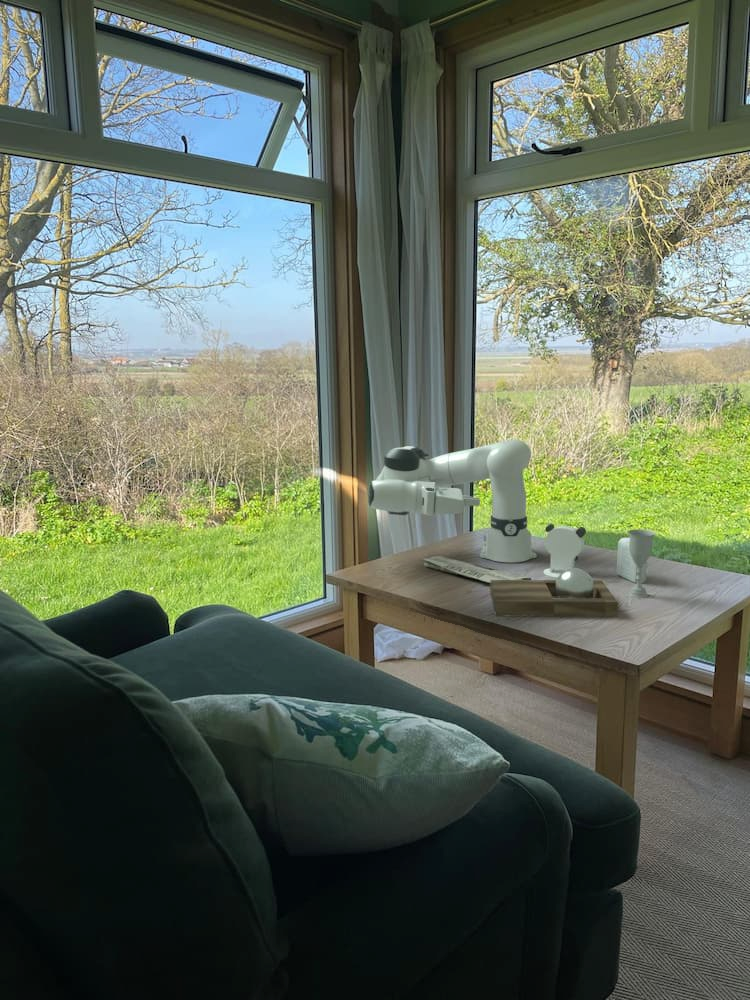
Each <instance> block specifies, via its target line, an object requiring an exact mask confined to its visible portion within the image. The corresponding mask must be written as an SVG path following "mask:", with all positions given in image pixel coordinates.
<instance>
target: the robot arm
mask: <svg viewBox="0 0 750 1000" xmlns="http://www.w3.org/2000/svg"><path fill="white" fill-rule="evenodd" d="M383 456H384V457H383V464H384V466H383V468H382V470H381V472H380V474H378V476H377V477H376V479H375V480H371V481H370V483H369V487H368V496H367V497H368V500H367V501H368V505H369V507H370V508H372V509H374V510H379V511H383V512H387V513H388V514H389V515H394V516H395V515H396V516H407V515H408V514H409V513H412V514H417V515H425V516H434V515H435V514H437V515H458V514H462V513H463V512H464V507H473V506H474V507H479V506H480V505H481V500H480V497H475V496H470V495H465V494H464V495H463V491H462V489H460V488H457V487H450V486H456V485H457V486H459V485H464V484H470V483H475V482H480V481H484V480H487V479H489V480H490V487H491V498H492V499H491V502H492V503H491V509H492V510H491V515H490V519H489V521H490V528H489V530H488V531H487V533H486V534H484V535H483V541H484V542H486V543H484V545H483V547H482V550H481V552H480V553H479V554H480V555H479V558H482V559H488V560H491V561H493V562H494V561H495V562H500V563H521V562H526V561H528V560H531V559H535V558H537V557H538V555H537V553H536V552H535V551H533V550H532V549H533V548H532V547H533V545H532V542H533V540H532V533H531V531H529V530H528V528H527V527H528V516H527V492H526V489H525V487H526V486H525V481H524V470H525V469H526V468H527V467H528V466H529V465H530V462H531V459H532V450H531V448H530V447H529V445H528V444H527V442H524V441H522V440H519V439H508V440H504V441H500V442H495V443H491V444H486V445H482V446H479V447H475V448H470V449H465V450H463V449H462V450H459V451H454V452H449V453H445V454H441V455H438V456H435V457H433V458H430V459H426V458H425V457H428V456H430V455H429V453H425V452H424V450H422V449H421V448H419V447H418V446H413V445H412V446H410V445H406V446H403V447H395V448H391V449H390V450H388V451H387V452H386V453H385V454H384V455H383Z"/></svg>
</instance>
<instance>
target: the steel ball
mask: <svg viewBox="0 0 750 1000" xmlns="http://www.w3.org/2000/svg"><path fill="white" fill-rule="evenodd" d="M555 580H556V592H557V594H558V596H557V597H558V598H592V594H593V591H594V584H593V580H594V579H593V578H592V576H591V575H590V574H589V573H588V572H587V571H586V570H583V569H582V568H579V567H574V568H570V569H567V570H565V571H563V572H562V573H561V574H560V575H559V576H558V578H556V579H555Z"/></svg>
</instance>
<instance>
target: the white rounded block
mask: <svg viewBox="0 0 750 1000" xmlns="http://www.w3.org/2000/svg"><path fill="white" fill-rule="evenodd" d="M629 540H630V537H621V538H619V541H618V542H617V556H616V557H617V558H616V574H617V575H618V576H620V577H622V578H624V579H626V580H628V581H630V582H633V583H635V584H637V579H636V577H637V572H636V571H637V569H638V565H636V564H635V563H634V561H633V559H632V557H631V554H630V550H629ZM647 564H648V561H647V562H646V563H645V565H642V567H641V570H642V573H641V578H642V580H641V582H640V583H641V584H644V583H645V582H646V581H647V579H646V578H647Z"/></svg>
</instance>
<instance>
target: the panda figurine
mask: <svg viewBox="0 0 750 1000" xmlns="http://www.w3.org/2000/svg"><path fill="white" fill-rule="evenodd" d="M545 532H546V533H547V535H546V537H545V542H544V544H545V545H544V546H545V548H546V550H547V552H548V553H549V554H550V563H549V564H550V566H549V567H548V568H546V569H544V570H543V574H544V575H545V576H546V575H547V576H546V577H549V576H550V577H549V578H552V577H553V579H557V578H558V576H559V575H560V574H561V573H562V572H563V571H565V570H567V569H570V568H575V563H576V562H577V560H578V559H579V556H578V555H579V554H580V553H581V552H582V550H583V549H584V547H585V540H584V537H585V535H586V533H587V530H586V528H585V527H584V526H580V527H578V528H575V527H573V526H569V525H557V526H555V525H554V523H549V524H548V525H547V526H546V527H545Z"/></svg>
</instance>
